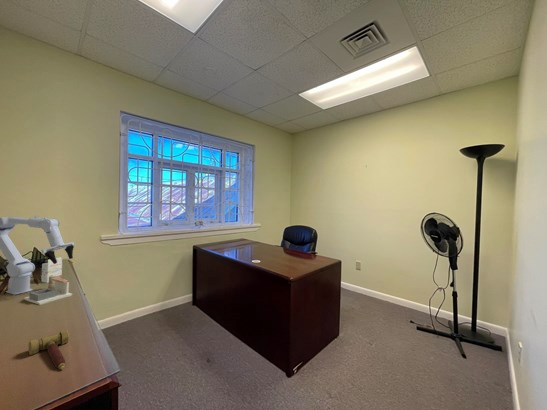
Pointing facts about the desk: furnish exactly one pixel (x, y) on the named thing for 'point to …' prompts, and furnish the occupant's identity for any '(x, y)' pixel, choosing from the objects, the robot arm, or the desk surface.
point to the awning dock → (50, 292)
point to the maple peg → (51, 282)
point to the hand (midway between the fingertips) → (63, 261)
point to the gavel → (51, 347)
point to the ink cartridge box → (51, 270)
